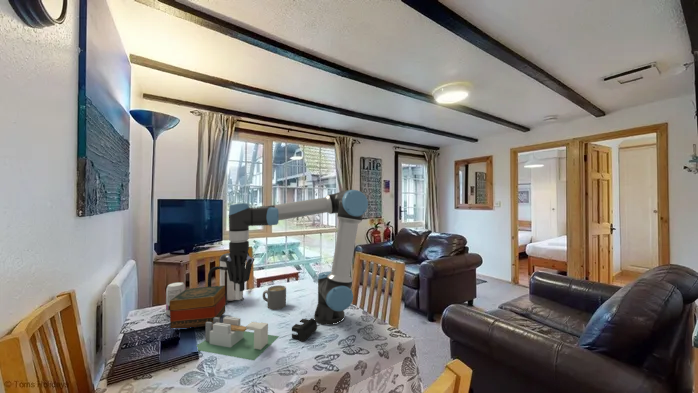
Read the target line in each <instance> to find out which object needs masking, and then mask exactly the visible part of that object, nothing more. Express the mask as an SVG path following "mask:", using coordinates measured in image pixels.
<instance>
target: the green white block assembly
mask: <svg viewBox="0 0 698 393" xmlns="http://www.w3.org/2000/svg"><path fill="white" fill-rule="evenodd" d="M222 320H223V322H221V317H220V318H218V317H215V318H213V323H214V322H216V323H215V324H213V327H212V322H206V326H205V339H204V340H203V341H201V342H200V343H198V344H197V345H196V346H197V347H198V351H199V352H198V353H200V352H206V353H211V354H216V355H223V356H227V357H232V358H239V359H244V360H249V361H255V360H256V359H257V358H259V357H260V356H261V355H262V354H263V353H264V352H265V351H266V350H267V349H269V347H270V346H271V345H272V344H273V343H274V342H275V341H277V340H278V338H279V337H280V335H279V336H278V335H273V334H268V343H267V344H266V345H265V346H264V347H263V348H262V349H261V350H259V349H254V331H247V330H245V331H236V330H231V325H237V326H243V325H241V318H240V317H233V316H225V317H223V319H222Z"/></svg>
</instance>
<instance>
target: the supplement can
mask: <svg viewBox="0 0 698 393" xmlns="http://www.w3.org/2000/svg"><path fill="white" fill-rule="evenodd" d="M184 290H186V285H185V283H184V282H179V281H177V282H172V283H169V284H168V285H167V286H166V292H165V296H166V298H165V304H166V305H165V306H166V307H165V314H166V316H168V317H170V300H171V299H173V298H174V297H176V296H177V295H179V294H180V293H181V292H183V291H184Z"/></svg>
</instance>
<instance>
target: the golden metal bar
mask: <svg viewBox="0 0 698 393" xmlns="http://www.w3.org/2000/svg"><path fill="white" fill-rule="evenodd" d="M215 323H216V322H214V323H212V328H213V324H215ZM231 330H236V331H247V330H248V329H246V326H244V325H242V326H237V325H231Z"/></svg>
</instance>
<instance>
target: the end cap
mask: <svg viewBox="0 0 698 393" xmlns="http://www.w3.org/2000/svg"><path fill="white" fill-rule="evenodd" d="M299 322H300V323H302V324H299V323H295V324H294V325H292V327H291V332H293V333H292V334H291V338H292V339H295V340H299V342H302V343H303V342H305V341H306V340H307V339H308V338H309V337H310V336H312V335H313V334H314V333H315V332H317V329H318V323H317V322H316V321H315V320H314V318H310V319H306V318H302V319H300V320H299ZM294 332H295V333H296V334H295V333H294Z"/></svg>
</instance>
